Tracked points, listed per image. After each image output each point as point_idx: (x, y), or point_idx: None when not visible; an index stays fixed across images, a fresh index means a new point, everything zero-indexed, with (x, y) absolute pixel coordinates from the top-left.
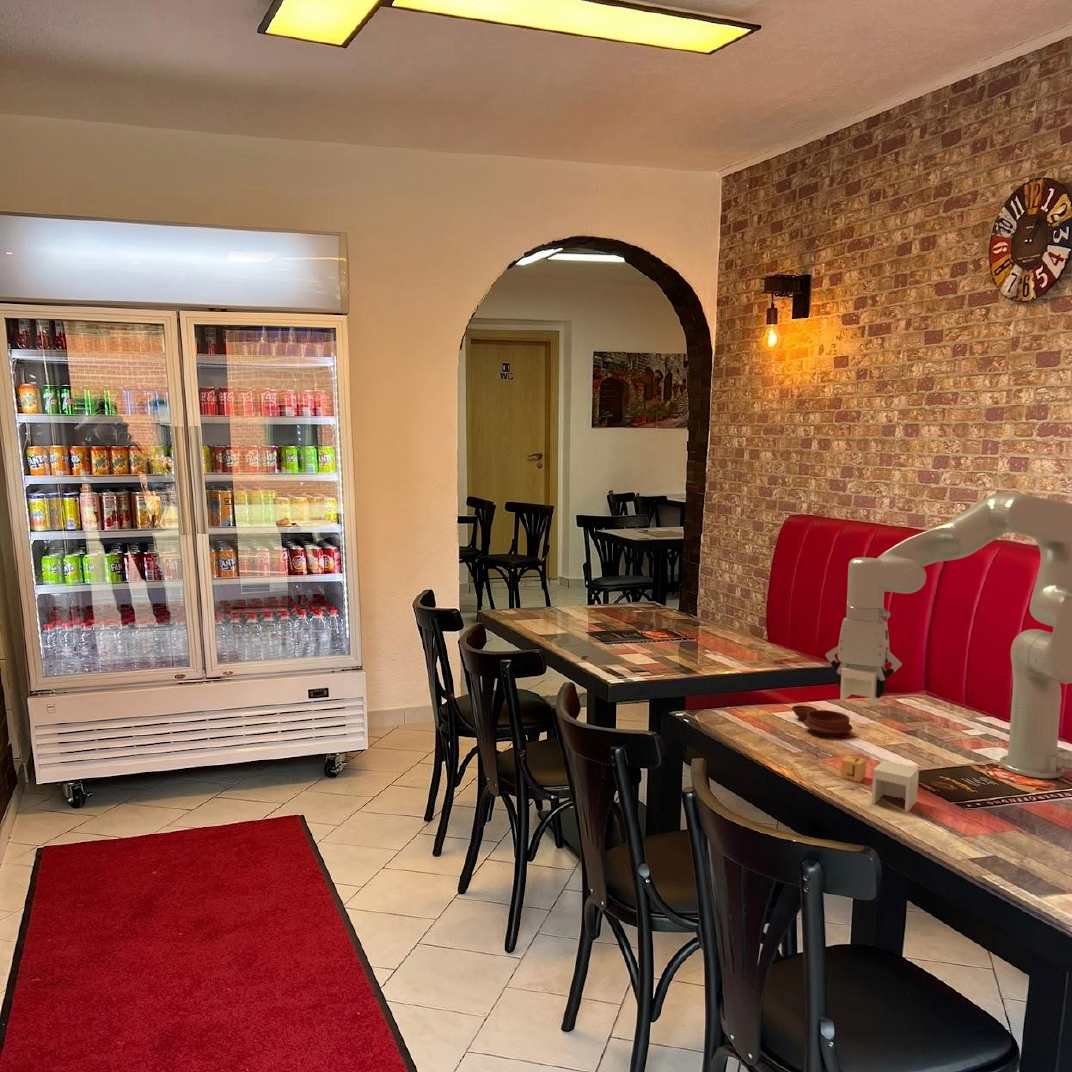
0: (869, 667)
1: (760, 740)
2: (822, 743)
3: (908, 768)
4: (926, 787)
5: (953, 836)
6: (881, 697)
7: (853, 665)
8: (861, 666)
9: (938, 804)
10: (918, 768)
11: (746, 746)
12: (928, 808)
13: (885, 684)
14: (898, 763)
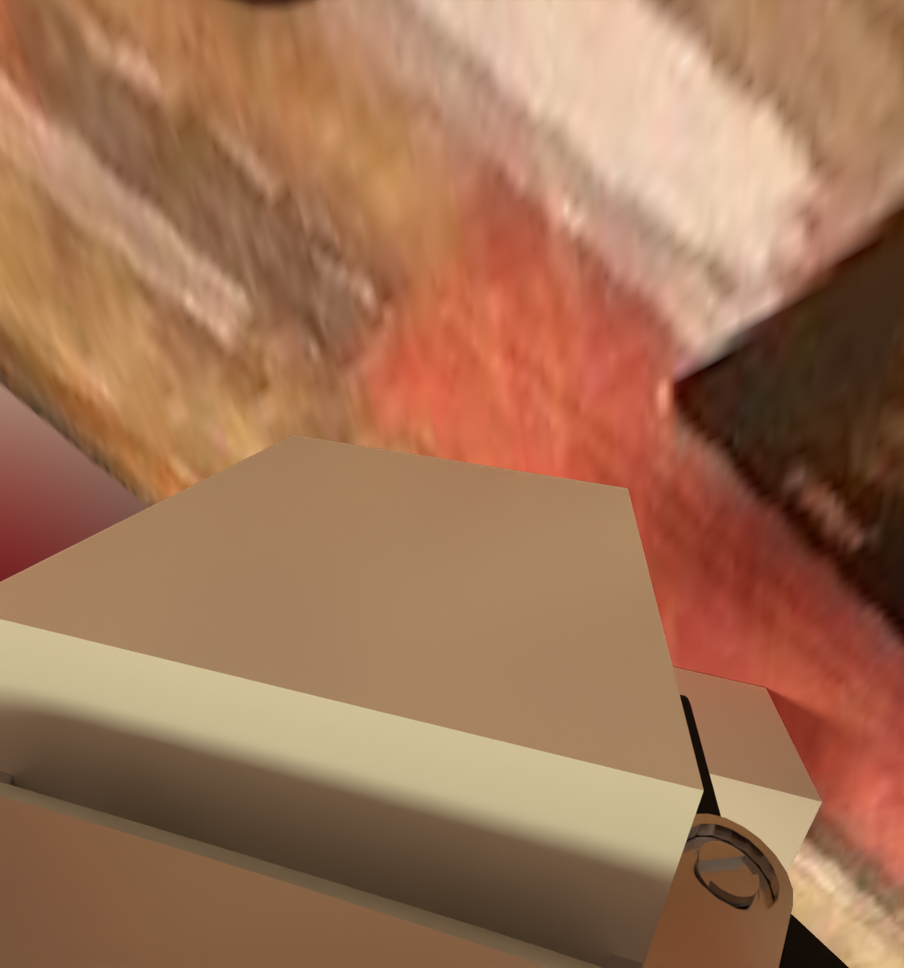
0: (391, 876)
1: (63, 255)
2: (287, 107)
3: (766, 824)
4: (821, 521)
5: (866, 913)
6: (627, 496)
7: (89, 806)
8: (231, 834)
9: (852, 687)
10: (817, 809)
11: (64, 375)
12: (805, 735)
13: (707, 770)
14: (719, 778)
